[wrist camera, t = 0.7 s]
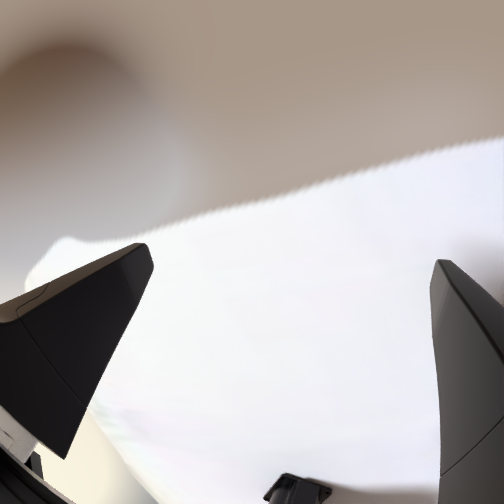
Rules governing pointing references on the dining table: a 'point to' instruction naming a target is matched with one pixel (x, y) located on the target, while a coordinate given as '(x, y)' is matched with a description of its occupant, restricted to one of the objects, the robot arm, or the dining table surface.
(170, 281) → the dining table surface
